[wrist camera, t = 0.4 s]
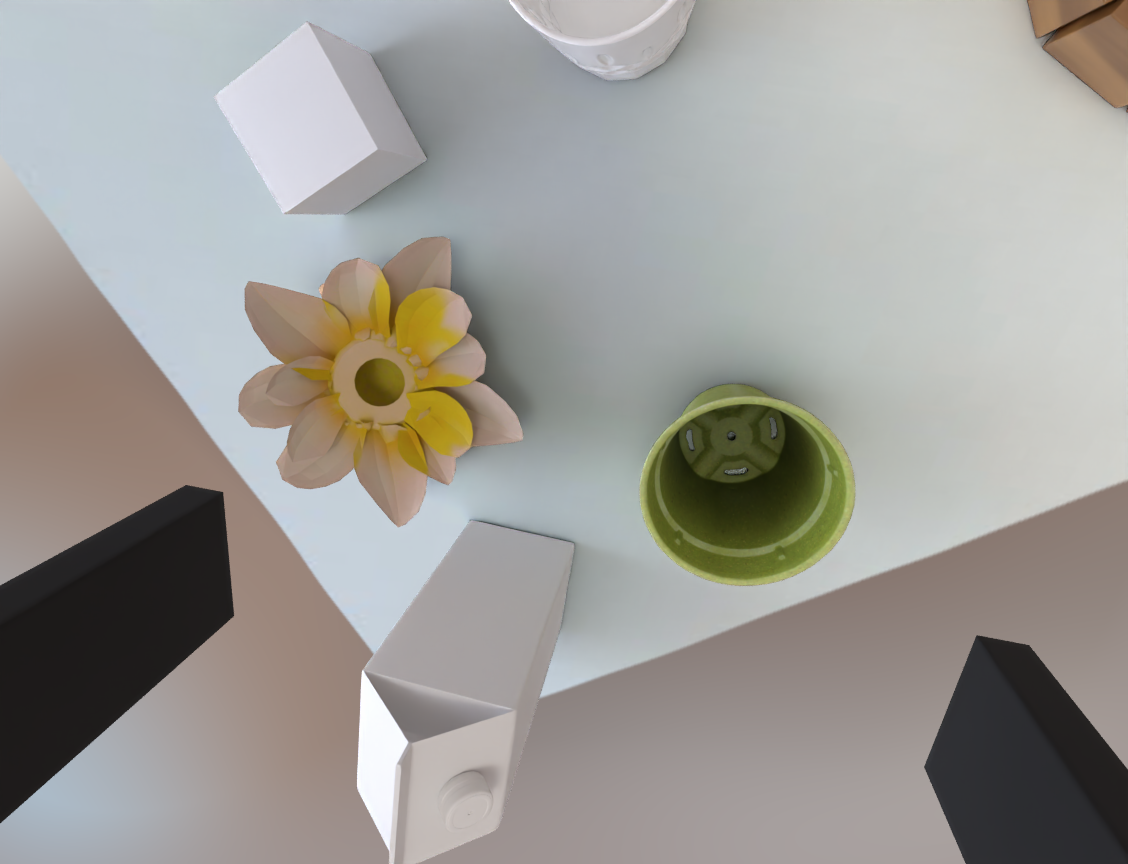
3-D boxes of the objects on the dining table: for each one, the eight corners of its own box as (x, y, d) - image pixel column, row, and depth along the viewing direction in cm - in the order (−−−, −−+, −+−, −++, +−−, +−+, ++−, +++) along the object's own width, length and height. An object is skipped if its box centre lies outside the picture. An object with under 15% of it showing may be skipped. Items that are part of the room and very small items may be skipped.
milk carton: (461, 607, 44) (309, 869, 26) (470, 517, 42) (310, 740, 24) (560, 631, 43) (471, 919, 25) (576, 541, 41) (490, 790, 23)
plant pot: (827, 495, 37) (867, 574, 29) (666, 518, 39) (661, 597, 31) (805, 339, 34) (842, 377, 26) (634, 373, 36) (619, 418, 28)
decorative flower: (552, 482, 38) (458, 559, 29) (407, 495, 43) (291, 563, 34) (488, 225, 35) (362, 226, 26) (341, 273, 40) (194, 286, 31)
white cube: (370, 53, 34) (307, 19, 28) (427, 159, 35) (378, 148, 29) (287, 115, 35) (212, 96, 30) (344, 215, 37) (283, 214, 31)
